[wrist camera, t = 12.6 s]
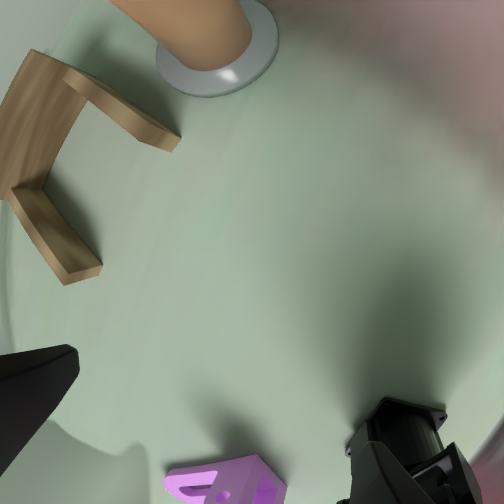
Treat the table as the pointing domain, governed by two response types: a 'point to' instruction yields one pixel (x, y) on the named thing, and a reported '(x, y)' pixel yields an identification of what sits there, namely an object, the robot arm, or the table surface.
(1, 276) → the table surface
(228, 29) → the terracotta pot
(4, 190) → the wooden cradle holder
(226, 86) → the grey saucer
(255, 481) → the bracket
